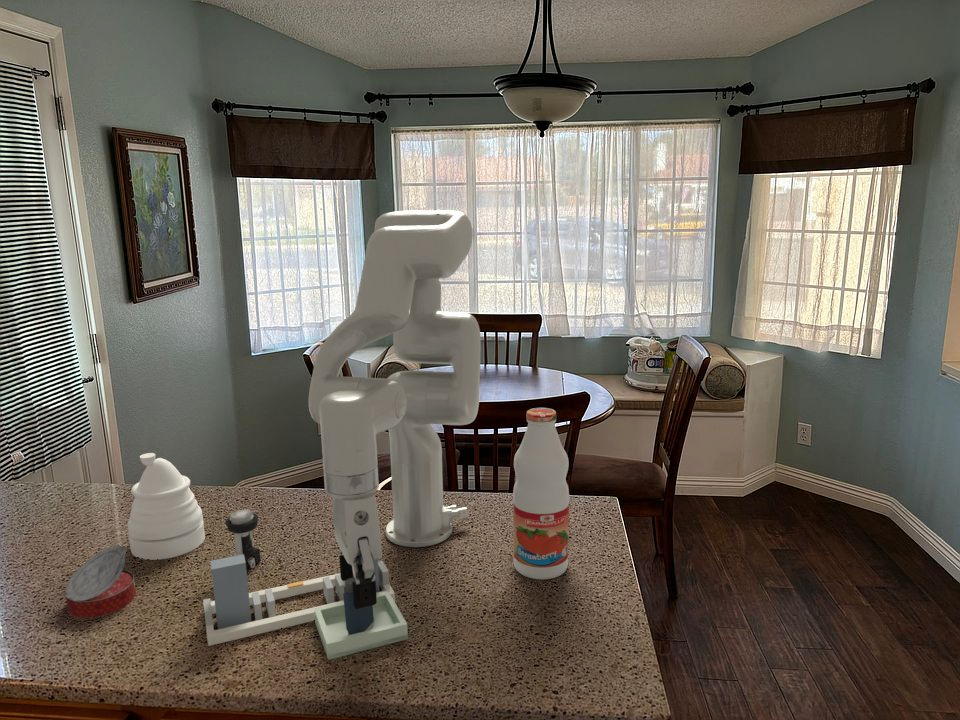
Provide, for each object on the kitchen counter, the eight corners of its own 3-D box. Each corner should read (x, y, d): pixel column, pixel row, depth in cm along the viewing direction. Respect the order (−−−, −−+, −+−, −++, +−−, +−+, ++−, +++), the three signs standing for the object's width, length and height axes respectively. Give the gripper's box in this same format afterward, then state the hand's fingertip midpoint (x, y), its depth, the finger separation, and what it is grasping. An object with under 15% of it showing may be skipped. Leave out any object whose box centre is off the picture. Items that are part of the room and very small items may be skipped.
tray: (389, 605, 114) (388, 591, 113) (407, 639, 105) (407, 623, 105) (315, 623, 109) (314, 608, 109) (328, 660, 101) (327, 644, 100)
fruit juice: (563, 552, 129) (565, 402, 123) (572, 580, 120) (574, 419, 114) (511, 554, 129) (510, 403, 123) (515, 582, 120) (515, 421, 114)
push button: (244, 580, 122) (238, 526, 119) (218, 575, 124) (212, 521, 121) (268, 562, 128) (264, 509, 125) (244, 557, 130) (239, 505, 127)
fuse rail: (378, 572, 124) (375, 518, 121) (395, 601, 115) (392, 543, 113) (204, 611, 113) (197, 552, 111) (208, 646, 104) (200, 583, 102)
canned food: (130, 633, 116) (122, 598, 110) (61, 634, 114) (48, 599, 107) (146, 571, 124) (139, 536, 118) (82, 572, 122) (71, 536, 116)
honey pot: (159, 566, 127) (146, 470, 123) (116, 548, 134) (102, 456, 129) (219, 537, 137) (210, 447, 133) (176, 521, 144) (166, 436, 140)
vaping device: (377, 618, 109) (371, 545, 106) (359, 638, 104) (352, 562, 101) (362, 615, 110) (356, 543, 107) (343, 635, 105) (336, 560, 102)
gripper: (394, 497, 95) (400, 616, 99) (362, 454, 111) (368, 559, 115) (338, 507, 92) (346, 630, 97) (313, 462, 108) (320, 569, 112)
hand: (358, 590), depth 106 cm, fingers open, 7 cm apart
